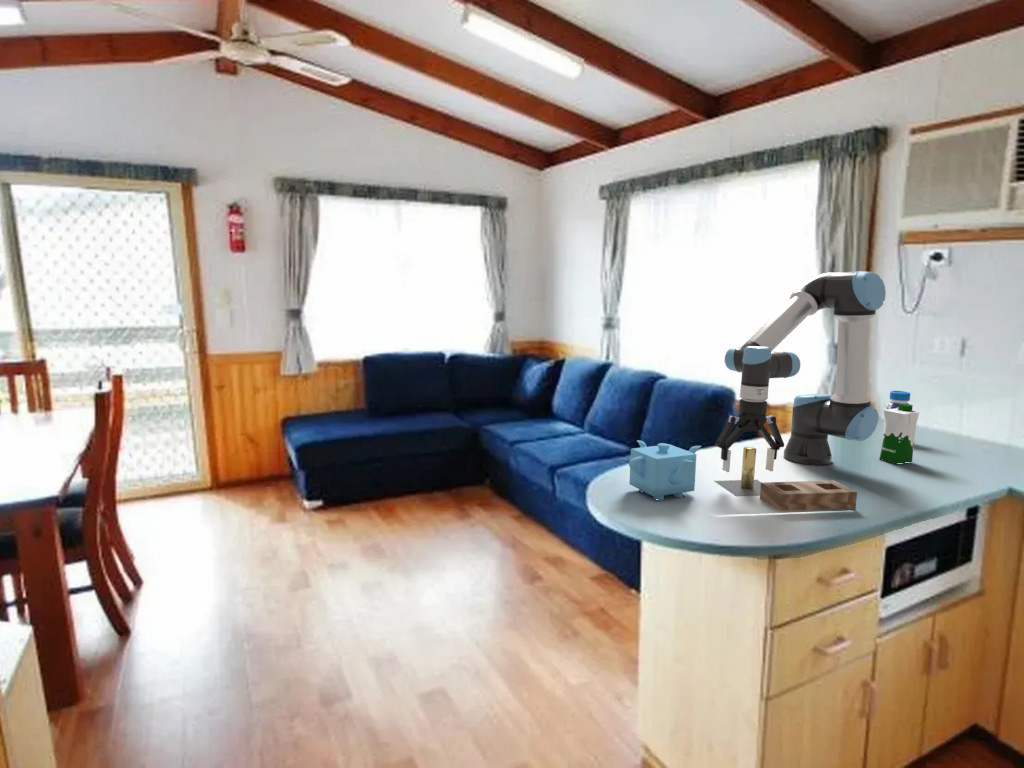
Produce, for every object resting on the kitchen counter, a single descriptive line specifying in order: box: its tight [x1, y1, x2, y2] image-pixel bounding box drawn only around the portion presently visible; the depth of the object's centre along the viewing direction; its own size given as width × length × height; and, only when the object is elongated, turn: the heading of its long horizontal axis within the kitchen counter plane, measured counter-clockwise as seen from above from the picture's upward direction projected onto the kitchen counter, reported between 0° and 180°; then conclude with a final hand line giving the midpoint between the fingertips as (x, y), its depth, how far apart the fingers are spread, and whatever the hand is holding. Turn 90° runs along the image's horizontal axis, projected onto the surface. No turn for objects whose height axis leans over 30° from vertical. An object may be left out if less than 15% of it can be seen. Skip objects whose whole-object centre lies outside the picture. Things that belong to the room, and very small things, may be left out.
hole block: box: [759, 479, 858, 512], centre depth 167 cm, size 22×10×5 cm, turn 97°
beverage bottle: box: [885, 390, 911, 410], centre depth 239 cm, size 8×8×20 cm
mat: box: [714, 479, 763, 497], centre depth 180 cm, size 14×14×1 cm
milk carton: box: [879, 403, 920, 464], centre depth 210 cm, size 9×9×20 cm
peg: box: [740, 446, 757, 489], centre depth 179 cm, size 4×4×12 cm
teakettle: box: [628, 439, 702, 501], centre depth 174 cm, size 19×19×15 cm
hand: (747, 470), depth 179 cm, fingers open, 13 cm apart
